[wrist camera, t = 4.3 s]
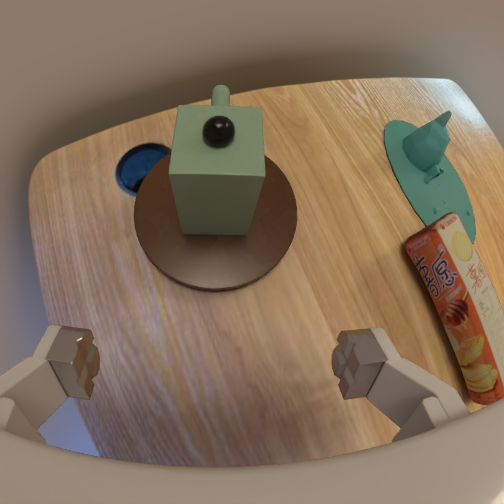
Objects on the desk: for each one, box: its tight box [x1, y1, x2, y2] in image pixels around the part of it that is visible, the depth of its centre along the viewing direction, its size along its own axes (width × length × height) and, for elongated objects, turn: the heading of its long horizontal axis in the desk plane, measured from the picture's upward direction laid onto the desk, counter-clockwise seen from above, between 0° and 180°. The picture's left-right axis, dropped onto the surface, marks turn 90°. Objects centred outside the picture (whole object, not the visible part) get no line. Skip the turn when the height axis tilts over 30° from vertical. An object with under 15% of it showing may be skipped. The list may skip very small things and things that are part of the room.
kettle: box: [134, 85, 297, 291], centre depth 22 cm, size 15×15×12 cm
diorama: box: [384, 111, 476, 244], centre depth 30 cm, size 12×20×9 cm, turn 23°
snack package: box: [406, 212, 504, 405], centre depth 26 cm, size 21×7×7 cm, turn 27°
